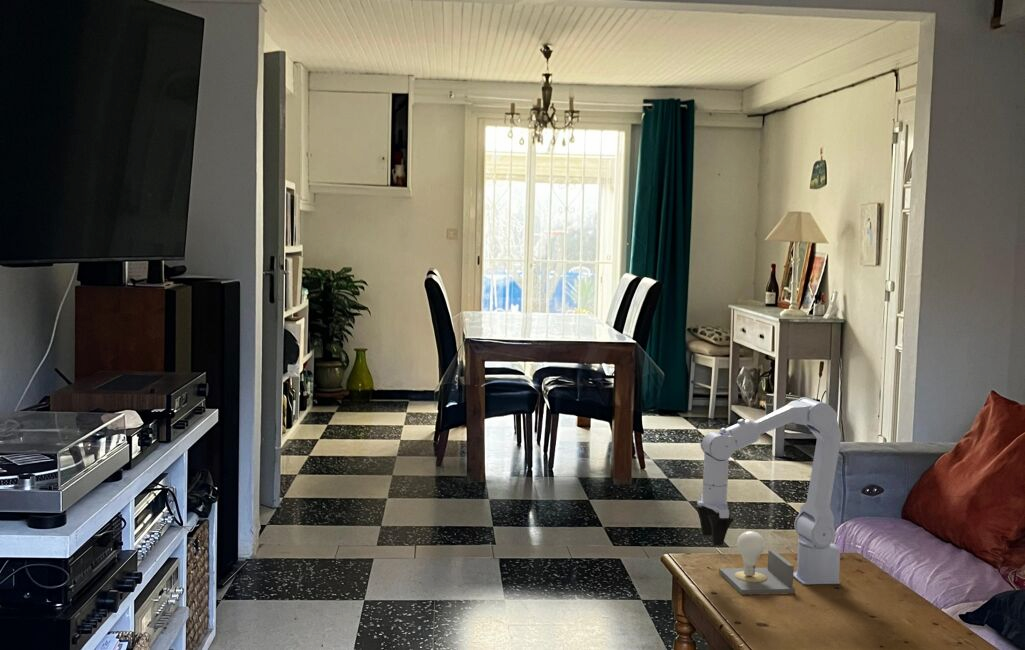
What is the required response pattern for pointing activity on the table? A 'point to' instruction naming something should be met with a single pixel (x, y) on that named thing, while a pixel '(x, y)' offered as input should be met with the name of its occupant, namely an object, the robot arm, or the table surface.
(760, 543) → the lightbulb
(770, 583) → the lamp base
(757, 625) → the table surface
